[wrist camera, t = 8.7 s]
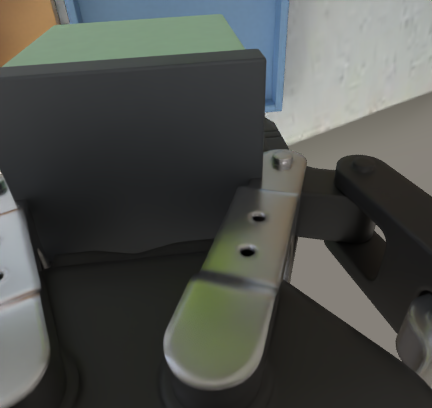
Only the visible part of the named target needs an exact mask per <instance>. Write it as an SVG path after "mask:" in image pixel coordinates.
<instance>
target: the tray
mask: <svg viewBox="0 0 432 408" xmlns="http://www.w3.org/2000/svg"><path fill="white" fill-rule="evenodd" d="M64 1H65V5H66V9H67V13H68V17H69V21H70V24H78V23H93V22H108V21H123V20H138V19H153V18H168V17H182V16H197V15H212V14H222V15H223V16H224V18H225V19H226V21H227V22H228V24H229V25H230V27H231V28H232V30H233V31H234V33H235V34H236V36H237V37H238V39H239V40H240V42H241V43H242V45H243V46H244V48H245V49H259V50H260V51H261V53H262V54H263V55H264V57H265V58H266V60H267V64H266V92H265V112H277V111H282V101H283V86H284V71H285V56H286V40H287V25H288V10H289V0H64Z"/></svg>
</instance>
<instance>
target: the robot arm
mask: <svg viewBox="0 0 432 408" xmlns="http://www.w3.org/2000/svg"><path fill="white" fill-rule="evenodd" d="M375 225H377V226H378V227H379V228H380V229H381V230H382V231H383V233H384V235H385V238H386V242H385V241H384V240H383V239H382V238H381V237H380V236H379V235H378V234H377V233H376V232H375V231H374V229H375ZM298 237H305V238H313V239H320V240H324V243H325V245H326V246H327V248H328V249H329V250H330V252H331V253H332V254H333V255H334V256H335V258H336V259H337V260H338V262H339V263H340V264H341V265H342V266H343V268H344V269H345V270H346V271H347V273H348V274H349V275H350V276H351V278H352V279H353V280H354V281H355V282H356V284H357V285H358V286H359V287H360V289H361V290H362V291H363V292H364V293H365V295H366V296H367V297H368V298H369V300H371V302H372V303H373V304H374V306H375V307H376V308H377V310H378V311H379V312H380V313H381V314H382V316H383V317H384V318H385V319H386V321H387V322H388V323H389V324H390V325H391V327H392V328H393V329H394V330H395V332H396V333H397V334H398V335H397V338H396V350H397V353H398V355H399V357H400V359H401V360H402V361H400V360H399V359H397V358H396V357H394V356H393V355H392V354H390V353H389V352H387V351H386V350H384V349H383V348H382V347H380V346H379V345H377V344H376V343H374V342H373V341H371V340H370V339H368V338H367V337H366V336H364V335H363V334H361V333H360V332H358V331H357V330H356V329H354V328H353V327H351V326H350V325H348V324H347V323H346V322H344V321H343V320H341V319H340V318H338V317H337V316H336V315H334V314H332V313H331V312H330V311H328V310H327V309H325V308H324V307H322V306H321V305H320V304H318V303H317V302H315V301H314V300H312V299H311V298H310V297H308V296H307V295H305V294H304V293H302V292H301V291H300V290H298V289H297V288H295V287H294V286H292V285H291V284H290V279H291V273H292V268H293V262H294V257H295V252H296V251H295V250H296V246H297V241H298ZM0 408H432V197H431V196H430V195H429V194H427V193H426V192H424V191H423V190H422V189H420V188H419V187H418V186H416V185H415V184H413V183H412V182H411V181H409V180H408V179H407V178H405V177H404V176H402V175H401V174H400V173H398V172H397V171H396V170H394V169H393V168H391V167H390V166H389V165H387V164H386V163H384V162H383V161H381V160H379V159H377V158H374V157H370V156H365V155H350V156H346V157H343V158H341V159H340V160H339V161H338V162H337V166H336V170H327V169H317V168H312V167H308V166H307V160H306V158H305V157H304V156H303V155H302V154H300V153H298V152H296V151H292V150H289V148H288V146H287V145H286V143H285V141H284V139H283V137H281V134H280V132H279V131H278V129H277V127H276V125H275V123H273V122H272V121H270V120H268V119H267V118H265V120H264V148H263V176H262V177H261V178H250V180H249V182H248V184H247V187H244V186H239V187H238V188H237V190H236V192H235V195H234V197H233V199H232V201H231V204H230V206H229V208H228V210H227V212H226V215H225V217H224V219H223V221H222V224H221V226H220V228H219V230H218V232H217V235H216V237H215V238H212V239H202V240H193V241H183V242H176V243H172V244H168V245H165V246H161V247H158V248H154V249H151V250H147V251H144V252H140V253H134V254H133V253H119V252H107V251H86V252H76V253H66V254H57V255H55V256H54V259H53V262H52V261H48V258H47V256H46V254H45V251H44V249H43V247H42V244H41V242H40V239H39V236H38V234H37V231H36V227H35V223H34V219H33V215H32V212H31V210H30V208H29V205H28V203H27V201H26V199H23V200H14V199H13V197H12V195H11V193H10V191H9V188H8V186H7V184H6V182H5V179H4V177H3V175H2V174H0Z"/></svg>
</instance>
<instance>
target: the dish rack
mask: <svg viewBox="0 0 432 408" xmlns="http://www.w3.org/2000/svg"><path fill="white" fill-rule="evenodd" d="M54 25H61V24H60V21H59V17H58V13H57V9H56V6H55V2H54V0H0V67H2V66H3V65H5V64H6V63H7V62H8V61H10V60H11V59H12V58H13V57H15V56H16V55H17V54H19V53H20V52H21V51H22V50H24V49H25V48H26V47H27V46H29V45H30V44H31V43H32V42H34V41H35V40H36V39H37V38H39V37H40V36H41V35H42V34H44V33H45V32H46V31H47V30H49V29H50V28H51V27H53V26H54Z"/></svg>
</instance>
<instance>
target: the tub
mask: <svg viewBox="0 0 432 408" xmlns="http://www.w3.org/2000/svg"><path fill="white" fill-rule="evenodd" d="M266 64H267V60H266V58H265V57H264V55H263V54H262V53H261V51H260V50H259V49H245V48H244V46H243V45H242V43H241V42H240V40H239V39H238V37H237V36H236V34H235V33H234V31H233V30H232V28H231V27H230V25H229V24H228V22H227V21H226V19H225V18H224V16H223V15H222V14H212V15H197V16H182V17H168V18H153V19H138V20H123V21H108V22H93V23H78V24H63V25H54V26H53V27H51V28H50V29H49V30H47V31H46V32H45V33H44V34H42V35H41V36H40V37H39V38H37V39H36V40H35V41H34V42H32V43H31V44H30V45H29V46H27V47H26V48H25V49H24V50H22V51H21V52H20V53H19V54H17V55H16V56H15V57H13V58H12V59H11V60H10V61H8V62H7V63H6V64H5V65H3V66H2V67H0V171H1V173H2V175H3V177H4V179H5V182H6V184H7V186H8V188H9V191H10V193H11V195H12V197H13V199H14V200H23V199H26V201H27V203H28V205H29V208H30V210H31V212H32V215H33V219H34V223H35V227H36V231H37V234H38V236H39V239H40V242H41V244H42V247H43V249H44V251H45V254H46V256H47V258H48V261H52V262H53V259H54V256H55V255H57V254H66V253H76V252H86V251H107V252H119V253H133V254H134V253H140V252H144V251H147V250H151V249H154V248H158V247H161V246H165V245H168V244H172V243H176V242H183V241H193V240H202V239H212V238H215V237H216V235H217V232H218V230H219V228H220V226H221V224H222V221H223V219H224V217H225V215H226V212H227V210H228V208H229V206H230V204H231V201H232V199H233V197H234V195H235V192H236V190H237V188H238V187H239V186H244V187H247V184H248V182H249V180H250V178H261V177H262V176H263V148H264V120H265V92H266Z"/></svg>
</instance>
